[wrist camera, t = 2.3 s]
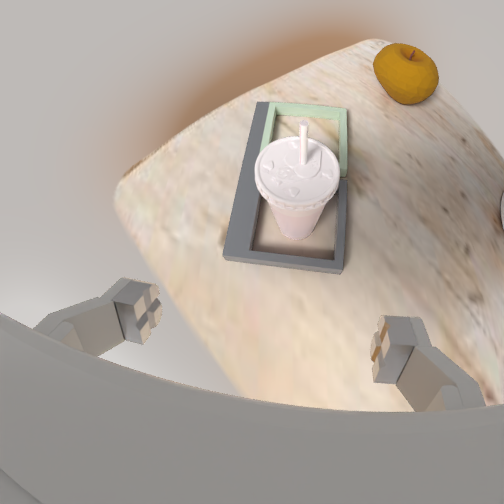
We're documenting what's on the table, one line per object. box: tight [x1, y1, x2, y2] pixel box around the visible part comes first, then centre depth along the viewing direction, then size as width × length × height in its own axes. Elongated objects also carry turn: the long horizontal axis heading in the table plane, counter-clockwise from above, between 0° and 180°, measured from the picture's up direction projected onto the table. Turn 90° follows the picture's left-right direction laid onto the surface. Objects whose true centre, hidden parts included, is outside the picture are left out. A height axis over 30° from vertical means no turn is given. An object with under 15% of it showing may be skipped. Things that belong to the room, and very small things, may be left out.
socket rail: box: [223, 102, 347, 274], centre depth 31 cm, size 11×21×2 cm, turn 170°
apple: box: [373, 43, 439, 104], centre depth 31 cm, size 9×9×9 cm
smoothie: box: [255, 120, 340, 240], centre depth 24 cm, size 6×6×14 cm
